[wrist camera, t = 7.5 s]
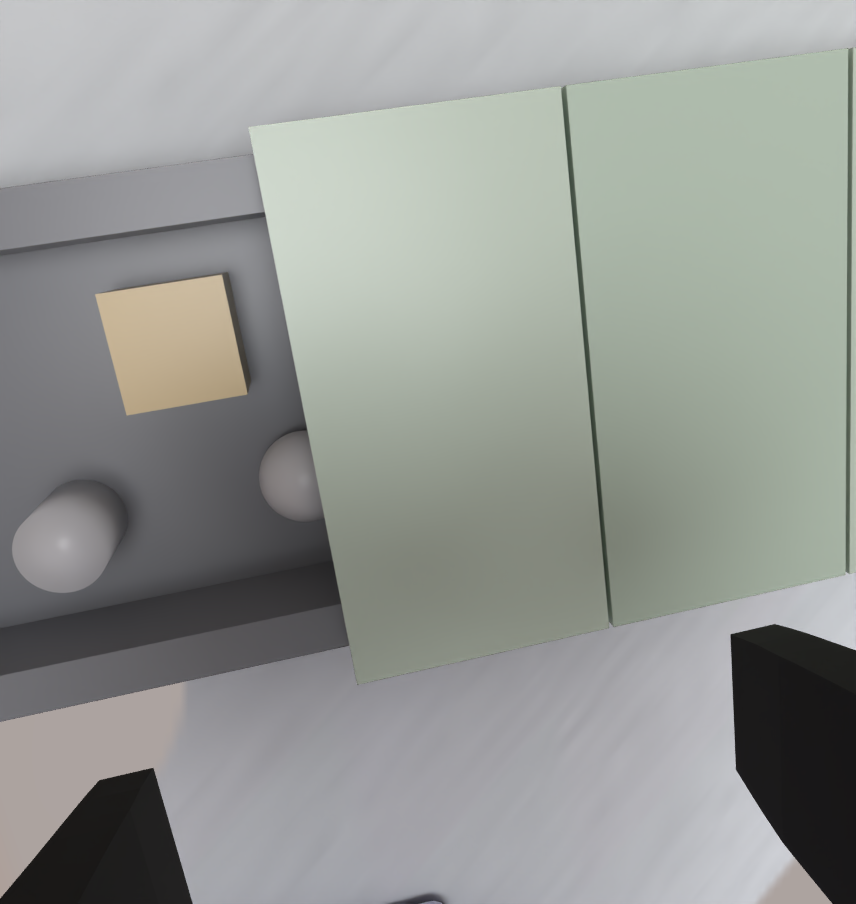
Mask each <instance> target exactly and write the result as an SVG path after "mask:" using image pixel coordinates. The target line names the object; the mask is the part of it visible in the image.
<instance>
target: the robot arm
mask: <svg viewBox="0 0 856 904" xmlns="http://www.w3.org/2000/svg"><path fill="white" fill-rule="evenodd" d="M731 657H732V681H733V705H734V730H735V754H736V770H737V772H738V774H739V775H740V777H741V778H742V780H743V782H744V783H745V785H746V787H747V788H748V790H749V791H750V793H751V795H752V796H753V798H754V799H755V801H756V803H757V804H758V806H759V807H760V809H761V811H762V812H763V814H764V815H765V817H766V818H767V820H768V821H769V823H770V824H771V826H772V827H773V829H774V830H775V832H776V833H777V835H778V836H779V838H780V839H781V841H782V842H783V843H784V845H785V846H786V847H787V848H788V850H789V851H790V852H791V853H792V855H793V856H794V857H795V858H796V860H797V861H798V862H799V863H800V865H801V866H802V867H803V868H804V869H805V871H806V872H807V873H808V874H809V876H810V877H811V878H812V879H813V880H814V882H815V883H816V884H817V885H818V887H819V888H820V889H821V890H822V891H823V893H824V894H825V895H826V896H827V897H828V899H829V900H830V901H831V902H832V904H856V650H853V649H850V648H847V647H844V646H842V645H839V644H836V643H833V642H830V641H827V640H825V639H822V638H819V637H816V636H813V635H810V634H807V633H804V632H801V631H797V630H794V629H791V628H787V627H783V626H780V625H776V624H774V625H769V626H765V627H761V628H756V629H752V630H748V631H743V632H739V633H735V634H731ZM0 904H192V900H191V897H190V893H189V890H188V886H187V883H186V879H185V876H184V872H183V869H182V865H181V862H180V859H179V855H178V852H177V848H176V845H175V841H174V838H173V834H172V831H171V827H170V824H169V820H168V817H167V814H166V810H165V807H164V803H163V800H162V796H161V793H160V789H159V786H158V782H157V779H156V775H155V772H154V769H153V768H150V769H146V770H142V771H138V772H133V773H129V774H125V775H120V776H116V777H112V778H107V779H103V780H99V781H98V782H97V784H96V785H95V786H94V787H93V788H92V789H91V790H90V791H89V792H88V794H87V795H86V796H85V797H84V798H83V800H82V801H81V802H80V803H79V804H78V806H77V807H76V808H75V809H74V810H73V812H72V813H71V814H70V815H69V816H68V818H67V819H66V820H65V821H64V823H63V824H62V825H61V826H60V827H59V829H58V830H57V831H56V832H55V834H54V835H53V836H52V837H51V838H50V840H49V841H48V842H47V843H46V844H45V846H44V847H43V848H42V849H41V851H40V852H39V853H38V854H37V856H36V857H35V858H34V859H33V860H32V862H31V863H30V864H29V865H28V866H27V868H26V869H25V870H24V871H23V872H22V873H21V875H20V876H19V877H18V878H17V879H16V881H15V882H14V883H13V884H12V885H11V887H10V888H9V889H8V890H7V891H6V892H5V894H4V895H3V896H2V897H1V898H0ZM420 904H442V903H441V902H438V901H428V902H424V903H420Z"/></svg>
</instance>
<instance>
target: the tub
mask: <svg viewBox="0 0 856 904" xmlns="http://www.w3.org/2000/svg"><path fill="white" fill-rule="evenodd" d="M345 646H349V640H348V635H347V630H346V625H345V620H344V615H343V610H342V605H341V599H340V594H339V589H338V584H337V579H336V574H335V569H334V564H333V558H332V553H331V548H330V543H329V538H328V533H327V528H326V523H325V517H324V512H323V507H322V502H321V497H320V492H319V487H318V482H317V476H316V471H315V466H314V461H313V456H312V451H311V446H310V441H309V435H308V430H307V425H306V420H305V415H304V410H303V405H302V400H301V394H300V389H299V384H298V379H297V374H296V369H295V364H294V359H293V353H292V348H291V343H290V338H289V333H288V328H287V323H286V318H285V312H284V307H283V302H282V297H281V292H280V287H279V282H278V277H277V271H276V266H275V261H274V256H273V251H272V246H271V241H270V236H269V231H268V225H267V220H266V215H265V210H264V205H263V200H262V195H261V190H260V184H259V179H258V174H257V169H256V164H255V159H254V154H250V155H243V156H235V157H228V158H221V159H213V160H206V161H199V162H191V163H184V164H177V165H169V166H162V167H155V168H147V169H140V170H133V171H125V172H118V173H110V174H103V175H96V176H88V177H81V178H74V179H66V180H59V181H52V182H44V183H37V184H30V185H22V186H15V187H7V188H0V722H1V721H6V720H10V719H15V718H20V717H24V716H29V715H34V714H38V713H43V712H47V711H52V710H56V709H61V708H66V707H70V706H75V705H79V704H84V703H88V702H93V701H98V700H102V699H107V698H111V697H116V696H121V695H125V694H130V693H134V692H139V691H143V690H148V689H152V688H157V687H161V686H166V685H170V684H175V683H180V682H185V681H189V680H194V679H198V678H203V677H207V676H212V675H217V674H221V673H226V672H230V671H235V670H240V669H244V668H249V667H253V666H258V665H262V664H267V663H272V662H276V661H281V660H285V659H290V658H294V657H299V656H304V655H308V654H313V653H317V652H322V651H326V650H331V649H336V648H340V647H345Z"/></svg>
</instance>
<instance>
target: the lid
mask: <svg viewBox="0 0 856 904" xmlns="http://www.w3.org/2000/svg"><path fill="white" fill-rule="evenodd" d="M248 128H249V133H250V138H251V143H252V149H253V154H254V159H255V164H256V169H257V174H258V179H259V184H260V190H261V195H262V200H263V205H264V210H265V215H266V220H267V225H268V231H269V236H270V241H271V246H272V251H273V256H274V261H275V266H276V271H277V277H278V282H279V287H280V292H281V297H282V302H283V307H284V312H285V318H286V323H287V328H288V333H289V338H290V343H291V348H292V353H293V359H294V364H295V369H296V374H297V379H298V384H299V389H300V394H301V400H302V405H303V410H304V415H305V420H306V425H307V430H308V435H309V441H310V446H311V451H312V456H313V461H314V466H315V471H316V476H317V482H318V487H319V492H320V497H321V502H322V507H323V512H324V517H325V523H326V528H327V533H328V538H329V543H330V548H331V553H332V558H333V564H334V569H335V574H336V579H337V584H338V589H339V594H340V599H341V605H342V610H343V615H344V620H345V625H346V630H347V635H348V640H349V646H350V651H351V656H352V661H353V666H354V671H355V676H356V681H357V685H359V684H363V683H368V682H372V681H376V680H381V679H385V678H390V677H394V676H399V675H403V674H408V673H412V672H416V671H421V670H425V669H430V668H434V667H439V666H443V665H447V664H452V663H456V662H461V661H465V660H470V659H474V658H479V657H483V656H487V655H492V654H496V653H501V652H505V651H510V650H514V649H519V648H523V647H527V646H532V645H536V644H541V643H545V642H550V641H554V640H559V639H563V638H567V637H572V636H576V635H581V634H585V633H590V632H594V631H598V630H603V629H607V628H609V622H610V623H611V624H612V626H613V627H616V626H621V625H625V624H630V623H634V622H638V621H643V620H647V619H652V618H656V617H661V616H665V615H670V614H674V613H678V612H683V611H687V610H692V609H696V608H701V607H705V606H709V605H714V604H718V603H723V602H727V601H732V600H736V599H741V598H745V597H749V596H754V595H758V594H763V593H767V592H772V591H776V590H781V589H785V588H789V587H794V586H798V585H803V584H807V583H812V582H816V581H820V580H825V579H829V578H834V577H838V576H843V575H845V572H847V573H849V574H852V573H856V47H854V48H851V49H848V48H846V49H839V50H831V51H823V52H816V53H808V54H801V55H793V56H785V57H778V58H770V59H763V60H755V61H747V62H740V63H732V64H725V65H717V66H709V67H702V68H694V69H687V70H679V71H671V72H664V73H656V74H649V75H641V76H633V77H626V78H618V79H611V80H603V81H595V82H588V83H580V84H573V85H566V86H564V87H562V88H561V86H557V87H550V88H542V89H535V90H527V91H519V92H512V93H504V94H497V95H489V96H481V97H474V98H466V99H459V100H451V101H443V102H436V103H428V104H421V105H413V106H405V107H398V108H390V109H383V110H375V111H367V112H360V113H352V114H344V115H337V116H329V117H322V118H314V119H306V120H299V121H291V122H284V123H276V124H268V125H261V126H253V127H248Z"/></svg>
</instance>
